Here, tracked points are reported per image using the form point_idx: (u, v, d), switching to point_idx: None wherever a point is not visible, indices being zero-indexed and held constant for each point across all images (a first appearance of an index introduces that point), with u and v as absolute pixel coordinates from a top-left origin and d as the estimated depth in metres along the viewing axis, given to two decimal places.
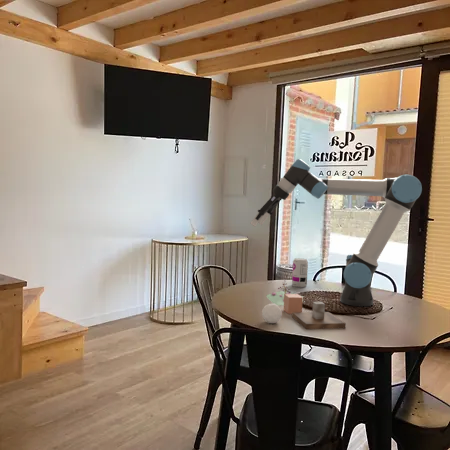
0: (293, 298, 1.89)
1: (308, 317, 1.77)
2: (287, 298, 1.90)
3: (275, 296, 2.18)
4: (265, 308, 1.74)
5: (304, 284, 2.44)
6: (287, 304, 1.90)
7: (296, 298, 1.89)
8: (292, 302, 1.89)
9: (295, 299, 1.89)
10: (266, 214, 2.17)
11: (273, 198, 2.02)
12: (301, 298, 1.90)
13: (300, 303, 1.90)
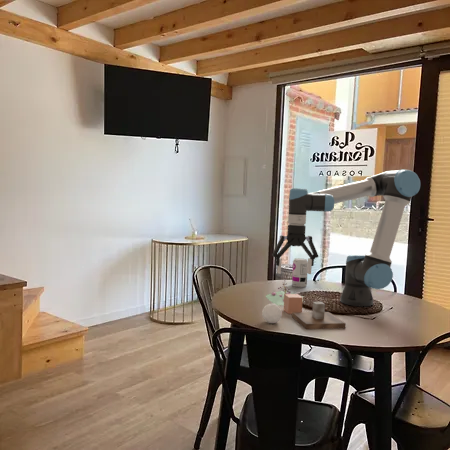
0: (293, 298, 1.89)
1: (308, 317, 1.77)
2: (287, 298, 1.90)
3: (275, 296, 2.18)
4: (265, 308, 1.74)
5: (304, 284, 2.44)
6: (287, 304, 1.90)
7: (296, 298, 1.89)
8: (292, 302, 1.89)
9: (295, 299, 1.89)
10: None
11: None
12: (301, 298, 1.90)
13: (300, 303, 1.90)
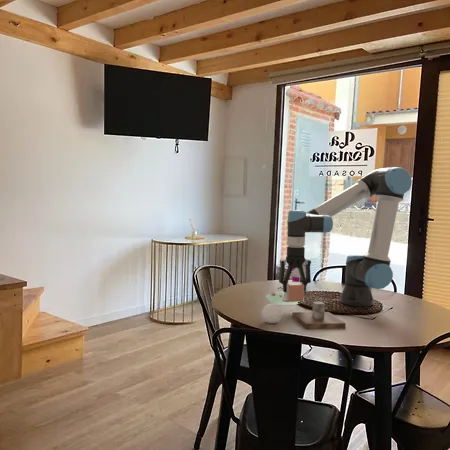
0: (294, 286, 1.89)
1: (308, 317, 1.77)
2: None
3: (275, 296, 2.18)
4: (265, 308, 1.74)
5: None
6: None
7: (297, 286, 1.89)
8: (293, 290, 1.89)
9: (296, 287, 1.89)
10: None
11: None
12: (302, 286, 1.89)
13: (301, 291, 1.89)
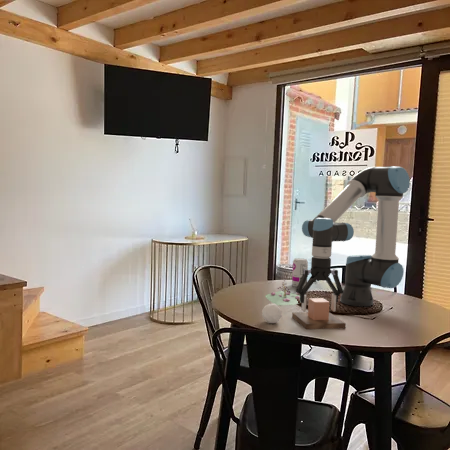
0: (319, 303, 1.74)
1: (308, 317, 1.77)
2: (312, 303, 1.75)
3: (275, 296, 2.18)
4: (265, 308, 1.74)
5: (304, 284, 2.44)
6: (312, 309, 1.75)
7: (322, 303, 1.74)
8: (318, 307, 1.74)
9: (321, 304, 1.74)
10: None
11: None
12: (328, 303, 1.75)
13: (327, 308, 1.75)
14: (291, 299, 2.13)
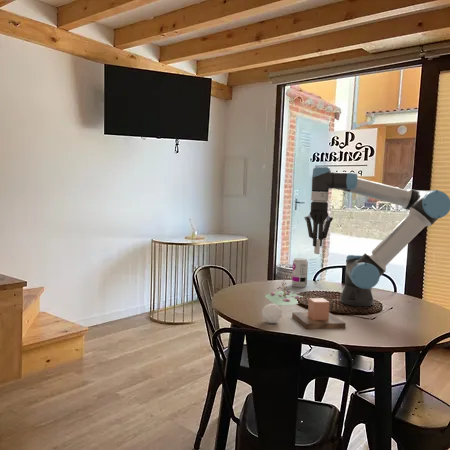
0: (319, 303, 1.74)
1: (308, 317, 1.77)
2: (312, 303, 1.75)
3: (274, 296, 2.18)
4: (265, 308, 1.74)
5: (304, 284, 2.44)
6: (312, 309, 1.75)
7: (322, 303, 1.74)
8: (318, 307, 1.74)
9: (321, 304, 1.74)
10: None
11: None
12: (328, 303, 1.75)
13: (327, 308, 1.75)
14: (291, 299, 2.14)
